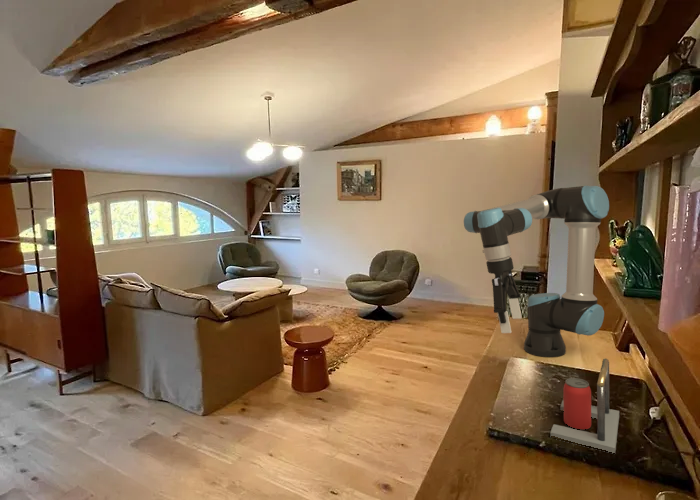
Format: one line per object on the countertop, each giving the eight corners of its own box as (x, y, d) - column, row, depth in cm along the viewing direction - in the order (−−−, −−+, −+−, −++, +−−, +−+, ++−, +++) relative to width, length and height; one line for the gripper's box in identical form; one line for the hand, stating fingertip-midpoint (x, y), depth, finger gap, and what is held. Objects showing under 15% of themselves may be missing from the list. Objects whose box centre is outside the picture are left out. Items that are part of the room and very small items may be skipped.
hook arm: (602, 415, 114) (602, 357, 112) (609, 416, 113) (609, 358, 111) (597, 445, 101) (596, 380, 99) (604, 447, 100) (604, 382, 98)
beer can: (593, 432, 106) (593, 388, 105) (565, 429, 108) (564, 386, 107) (588, 419, 112) (588, 378, 111) (562, 416, 115) (561, 376, 113)
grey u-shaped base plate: (563, 404, 121) (562, 399, 121) (619, 416, 113) (619, 410, 113) (550, 437, 105) (550, 432, 105) (615, 453, 97) (615, 448, 97)
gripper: (497, 252, 137) (509, 313, 139) (473, 269, 117) (488, 339, 118) (520, 249, 133) (533, 312, 134) (500, 265, 113) (515, 339, 114)
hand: (512, 325), depth 126 cm, fingers open, 13 cm apart
